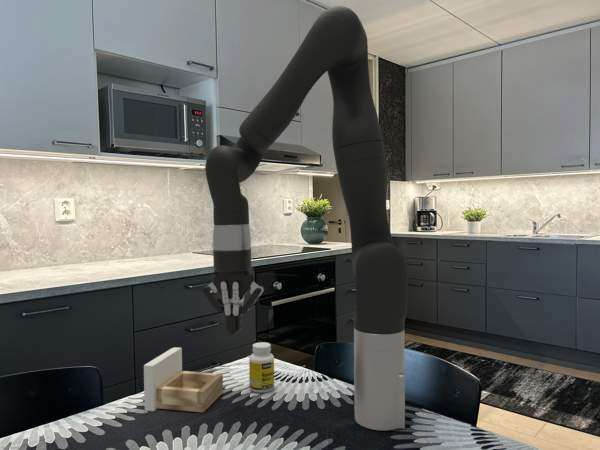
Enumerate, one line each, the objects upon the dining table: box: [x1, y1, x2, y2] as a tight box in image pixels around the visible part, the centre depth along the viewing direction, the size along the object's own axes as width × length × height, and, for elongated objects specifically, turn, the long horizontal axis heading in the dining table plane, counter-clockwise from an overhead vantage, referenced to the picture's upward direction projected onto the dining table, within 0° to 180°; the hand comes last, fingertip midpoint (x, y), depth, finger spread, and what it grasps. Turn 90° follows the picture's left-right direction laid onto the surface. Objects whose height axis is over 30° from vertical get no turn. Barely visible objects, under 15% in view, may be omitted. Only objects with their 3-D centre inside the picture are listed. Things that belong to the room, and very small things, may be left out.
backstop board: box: [143, 347, 183, 412], centre depth 96 cm, size 2×12×9 cm, turn 167°
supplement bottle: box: [248, 341, 275, 394], centre depth 101 cm, size 5×5×10 cm
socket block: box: [156, 370, 224, 413], centre depth 95 cm, size 10×10×4 cm
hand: (234, 332), depth 92 cm, fingers closed
